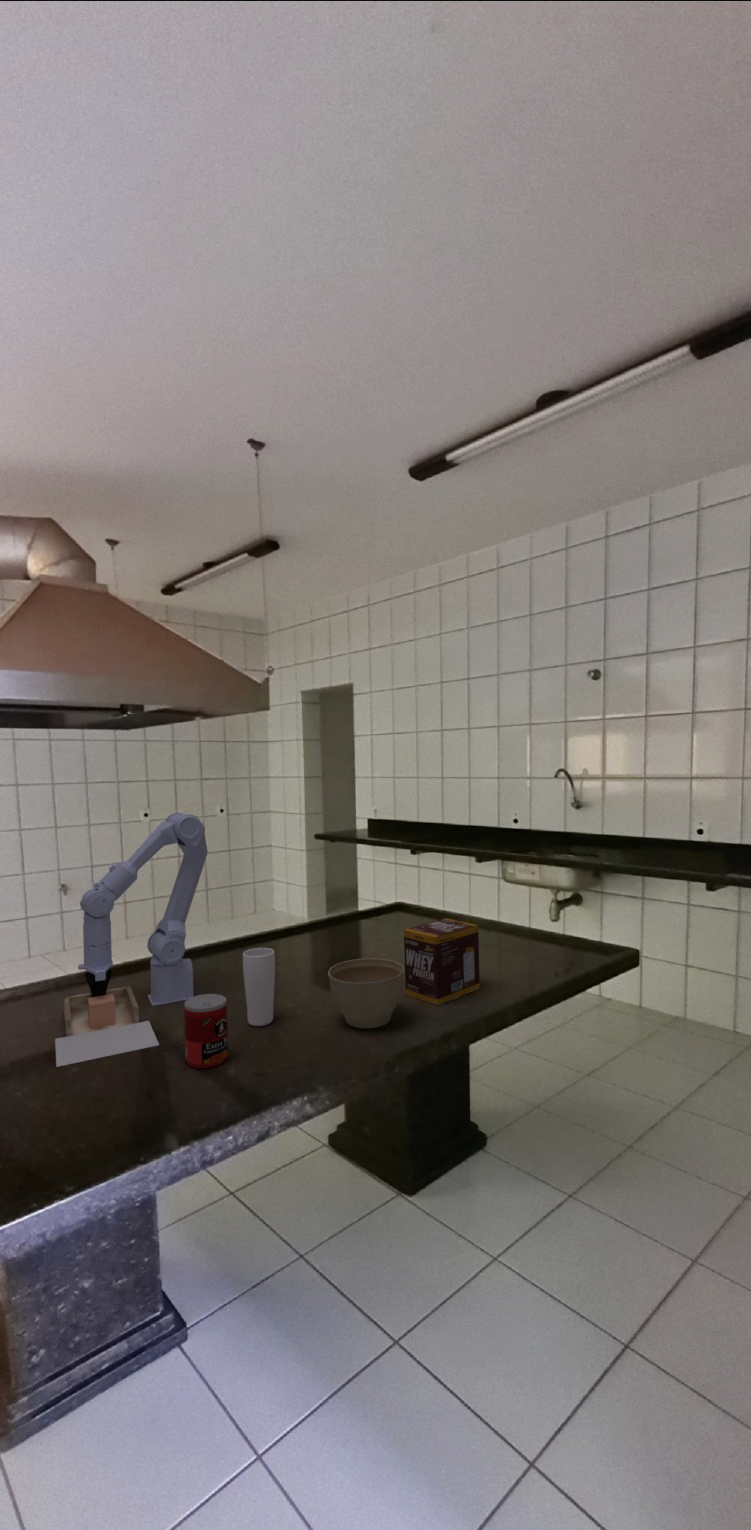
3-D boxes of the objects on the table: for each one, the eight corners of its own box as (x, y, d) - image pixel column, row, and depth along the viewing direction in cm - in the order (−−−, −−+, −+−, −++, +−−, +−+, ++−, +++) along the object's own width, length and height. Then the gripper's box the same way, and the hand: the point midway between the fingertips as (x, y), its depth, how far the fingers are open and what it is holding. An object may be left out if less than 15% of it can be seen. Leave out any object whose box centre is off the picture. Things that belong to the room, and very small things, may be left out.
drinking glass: (249, 1031, 132) (247, 958, 132) (240, 1020, 138) (238, 950, 139) (281, 1024, 136) (279, 953, 136) (270, 1014, 142) (269, 945, 142)
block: (113, 1016, 141) (112, 994, 141) (115, 1024, 136) (115, 1001, 136) (88, 1021, 139) (87, 998, 139) (89, 1029, 134) (89, 1005, 134)
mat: (148, 1023, 138) (148, 1020, 138) (159, 1048, 126) (159, 1045, 126) (55, 1042, 130) (55, 1039, 130) (56, 1070, 117) (56, 1067, 117)
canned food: (206, 1073, 115) (205, 1011, 115) (176, 1063, 119) (174, 1004, 119) (237, 1056, 121) (235, 998, 121) (207, 1047, 125) (205, 991, 125)
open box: (130, 1003, 150) (130, 986, 150) (139, 1025, 137) (138, 1006, 137) (64, 1015, 144) (63, 997, 144) (66, 1039, 131) (65, 1020, 131)
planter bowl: (355, 1002, 147) (353, 954, 147) (418, 1014, 139) (417, 963, 139) (314, 1027, 133) (312, 975, 134) (382, 1042, 125) (380, 986, 125)
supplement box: (404, 995, 151) (402, 929, 151) (448, 979, 161) (446, 917, 161) (437, 1007, 143) (435, 937, 143) (480, 989, 154) (479, 924, 154)
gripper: (76, 938, 148) (77, 997, 148) (79, 954, 135) (80, 1018, 135) (109, 934, 152) (110, 992, 151) (115, 949, 139) (116, 1012, 139)
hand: (98, 1004), depth 144 cm, fingers closed
